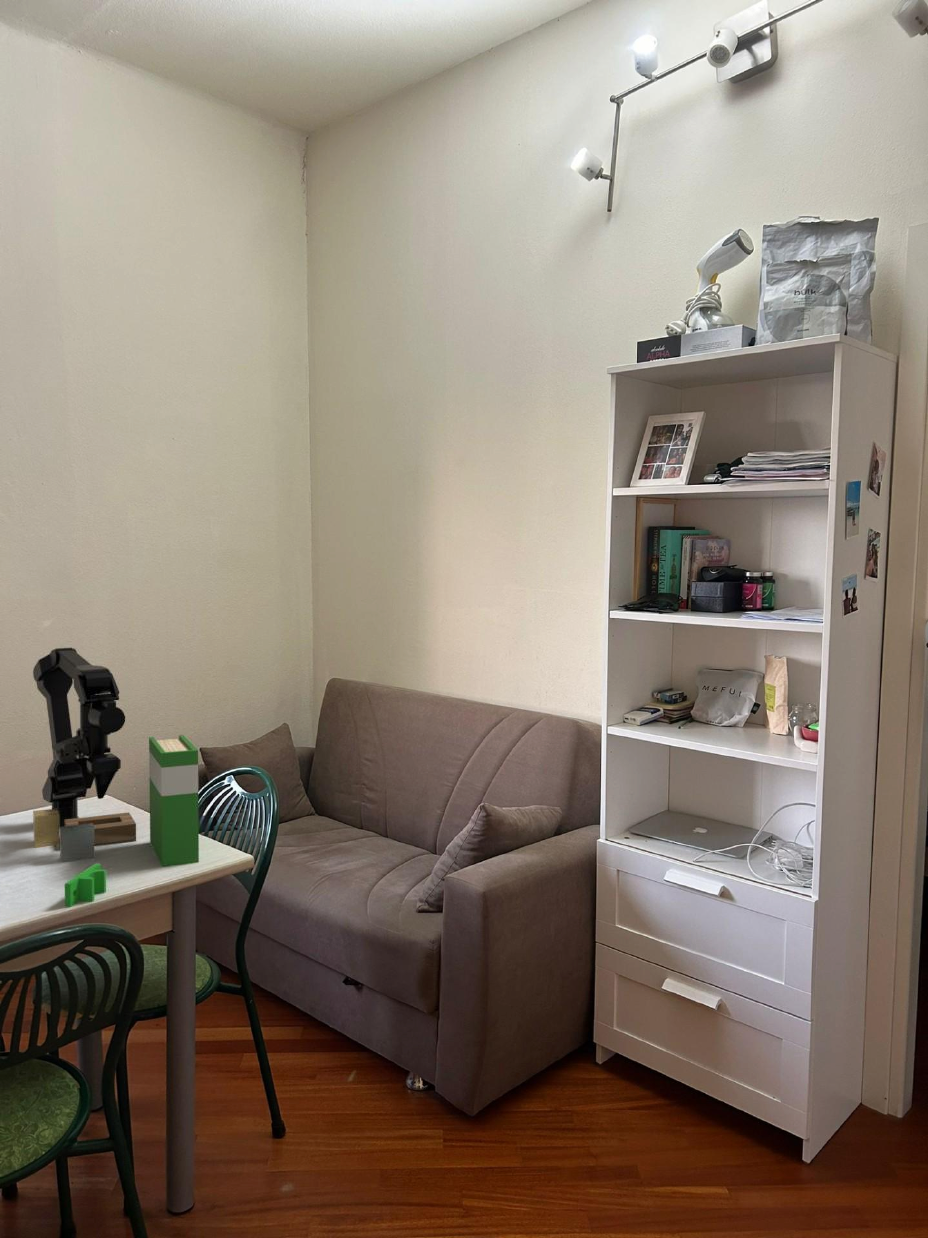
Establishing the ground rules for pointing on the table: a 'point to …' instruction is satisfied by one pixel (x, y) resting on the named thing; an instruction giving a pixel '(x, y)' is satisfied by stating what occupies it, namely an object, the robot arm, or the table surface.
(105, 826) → the socket block
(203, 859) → the table surface
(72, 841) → the block
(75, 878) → the green finned bracket
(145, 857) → the table surface
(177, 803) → the hardback book
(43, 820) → the square bit
